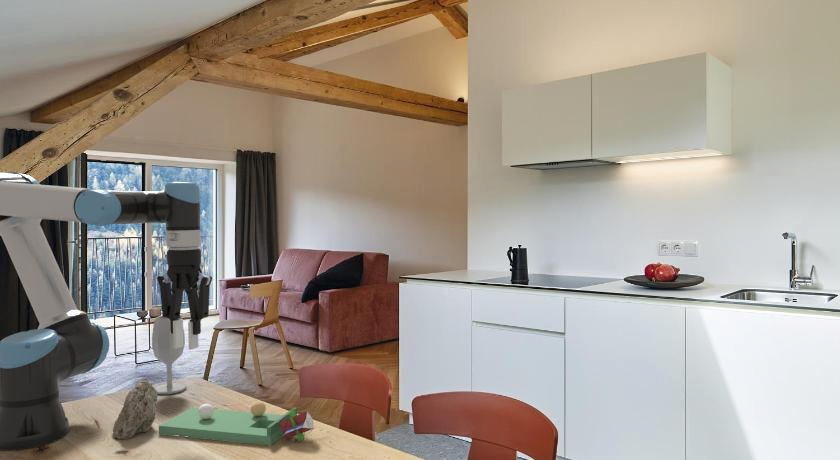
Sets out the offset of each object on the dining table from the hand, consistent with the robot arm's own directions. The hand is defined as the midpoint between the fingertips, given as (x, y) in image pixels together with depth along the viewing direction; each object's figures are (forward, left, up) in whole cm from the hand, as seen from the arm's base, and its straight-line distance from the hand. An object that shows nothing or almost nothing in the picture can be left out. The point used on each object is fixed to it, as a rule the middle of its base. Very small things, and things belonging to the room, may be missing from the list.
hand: (186, 347), depth 145 cm
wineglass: (-22, +23, -19) cm, 37 cm away
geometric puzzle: (+29, -2, -19) cm, 35 cm away
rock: (-10, -5, -19) cm, 22 cm away
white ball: (+5, 0, -15) cm, 16 cm away
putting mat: (+11, 0, -19) cm, 22 cm away
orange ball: (+16, +4, -15) cm, 22 cm away
